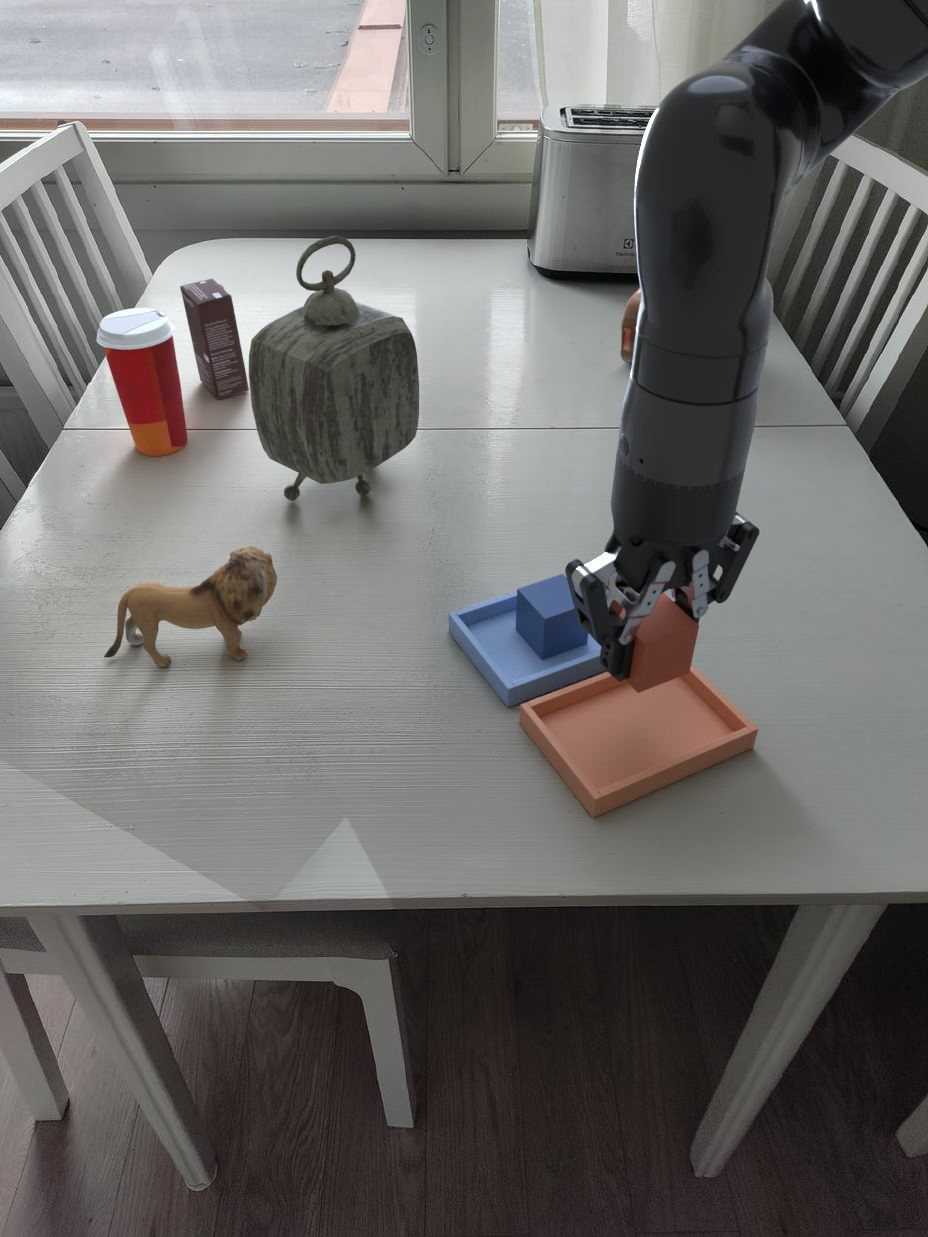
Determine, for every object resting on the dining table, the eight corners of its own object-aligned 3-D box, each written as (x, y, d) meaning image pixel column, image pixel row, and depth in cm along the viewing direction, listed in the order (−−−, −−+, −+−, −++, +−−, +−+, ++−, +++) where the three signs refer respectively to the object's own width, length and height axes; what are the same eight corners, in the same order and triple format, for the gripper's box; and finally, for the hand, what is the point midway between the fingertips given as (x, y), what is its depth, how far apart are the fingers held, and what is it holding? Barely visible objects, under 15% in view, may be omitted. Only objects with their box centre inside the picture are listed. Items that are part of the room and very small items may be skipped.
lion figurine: (283, 614, 83) (269, 528, 77) (289, 654, 79) (275, 567, 73) (106, 642, 80) (78, 555, 74) (104, 685, 76) (74, 597, 70)
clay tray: (670, 664, 78) (673, 646, 77) (753, 747, 71) (759, 728, 70) (519, 722, 73) (519, 704, 72) (592, 818, 66) (595, 799, 65)
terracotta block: (652, 636, 70) (660, 588, 67) (689, 673, 67) (699, 625, 64) (601, 655, 68) (607, 607, 65) (637, 693, 65) (645, 645, 62)
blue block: (559, 613, 82) (562, 573, 79) (587, 644, 79) (592, 602, 76) (515, 629, 81) (516, 588, 78) (541, 660, 78) (544, 619, 75)
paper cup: (179, 419, 110) (153, 299, 101) (209, 445, 105) (185, 322, 96) (113, 440, 106) (80, 318, 97) (142, 469, 101) (110, 343, 92)
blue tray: (589, 583, 86) (591, 566, 85) (657, 651, 79) (660, 633, 78) (448, 631, 81) (448, 613, 80) (507, 707, 74) (508, 689, 73)
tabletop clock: (367, 445, 105) (349, 208, 89) (429, 473, 100) (422, 229, 84) (266, 502, 96) (227, 250, 80) (329, 535, 92) (301, 276, 76)
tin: (636, 376, 118) (644, 309, 112) (612, 371, 119) (619, 305, 113) (672, 330, 128) (681, 267, 123) (649, 326, 129) (657, 263, 124)
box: (197, 382, 117) (178, 284, 109) (232, 373, 119) (216, 276, 111) (214, 401, 113) (195, 302, 105) (250, 392, 115) (234, 293, 107)
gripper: (617, 510, 51) (589, 731, 62) (819, 447, 56) (761, 662, 67) (544, 446, 56) (530, 661, 67) (736, 394, 61) (694, 602, 72)
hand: (646, 660), depth 67 cm, fingers closed on terracotta block, 4 cm apart
